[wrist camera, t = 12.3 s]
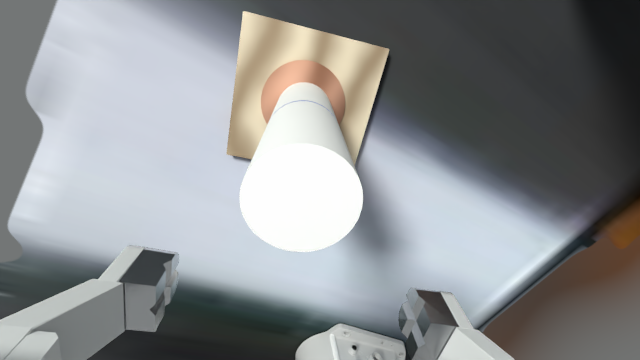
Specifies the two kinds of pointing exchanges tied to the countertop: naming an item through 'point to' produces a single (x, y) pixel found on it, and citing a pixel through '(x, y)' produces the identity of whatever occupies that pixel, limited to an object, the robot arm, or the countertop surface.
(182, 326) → the countertop surface
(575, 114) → the countertop surface
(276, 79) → the seat board
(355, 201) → the cylindrical container
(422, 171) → the countertop surface
